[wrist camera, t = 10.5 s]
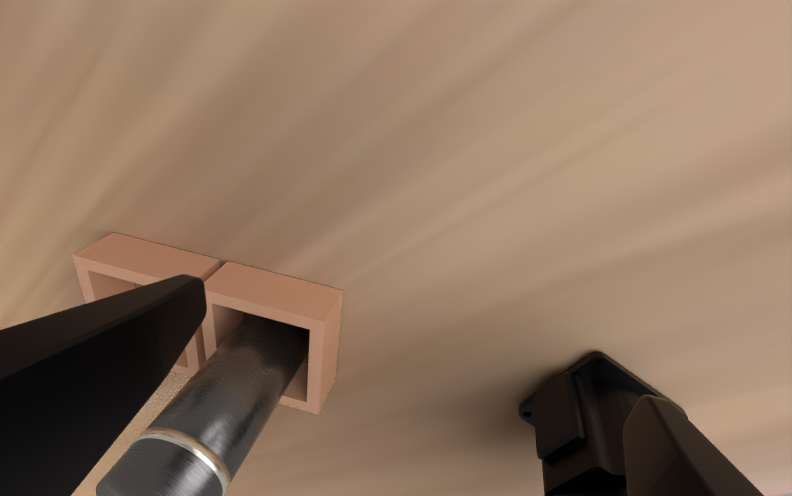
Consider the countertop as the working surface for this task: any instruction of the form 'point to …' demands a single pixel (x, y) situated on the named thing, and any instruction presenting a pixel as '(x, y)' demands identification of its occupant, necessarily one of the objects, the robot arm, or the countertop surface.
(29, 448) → the robot arm
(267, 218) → the countertop surface
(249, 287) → the collar
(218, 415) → the tube
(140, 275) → the collar
